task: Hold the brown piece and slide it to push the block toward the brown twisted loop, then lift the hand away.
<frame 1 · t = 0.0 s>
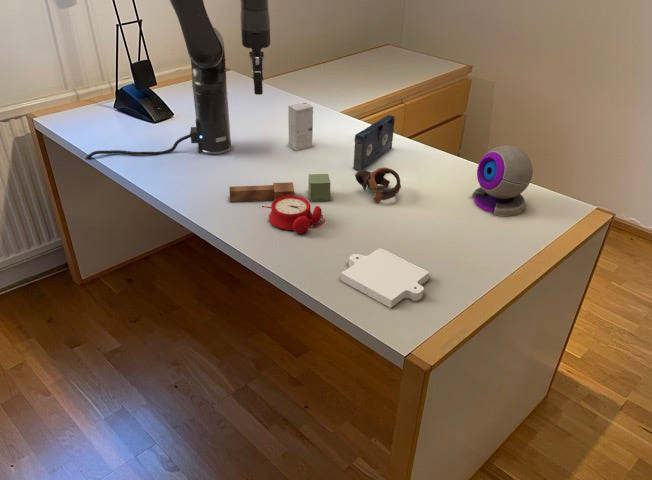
hand: (258, 88, 163), 17 cm above the table, tool pointing down, fingers open, 8 cm apart
vhs cassette tape: (373, 159, 169), on the table
brown piece: (260, 198, 149), on the table
webcam: (497, 203, 150), on the table
cosmetic box: (300, 146, 175), on the table
alarm clock: (296, 222, 140), on the table
mounting plate: (384, 280, 123), on the table
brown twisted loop: (376, 194, 152), on the table
block: (319, 196, 151), on the table
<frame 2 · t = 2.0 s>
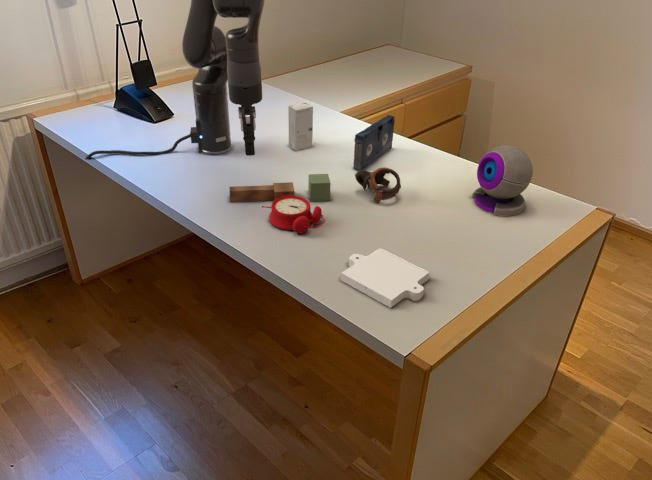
hand: (249, 147, 142), 13 cm above the table, tool pointing down, fingers open, 8 cm apart
nothing on the table moved.
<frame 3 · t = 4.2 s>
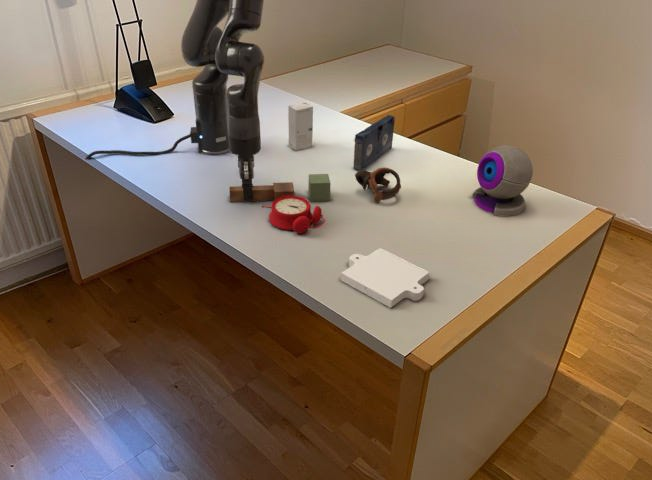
hand: (248, 196, 148), 1 cm above the table, tool pointing down, fingers closed on brown piece, 2 cm apart
brown piece: (260, 198, 149), on the table, touching gripper
everything else where it was.
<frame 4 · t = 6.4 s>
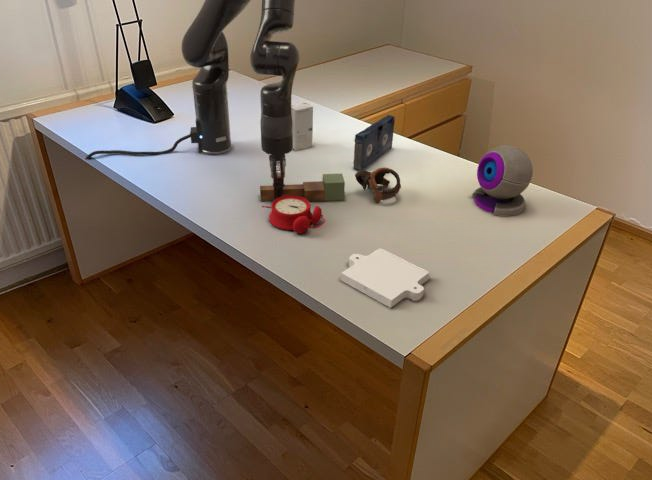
hand: (278, 195, 149), 1 cm above the table, tool pointing down, fingers closed on brown piece, 2 cm apart
brown piece: (290, 197, 150), on the table, touching block, gripper
block: (332, 195, 151), on the table, touching brown piece
everything else where it was.
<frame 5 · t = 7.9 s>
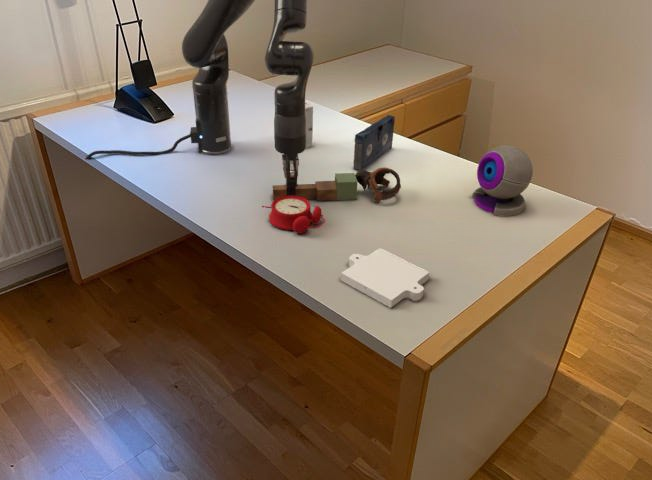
hand: (290, 195, 149), 1 cm above the table, tool pointing down, fingers closed on brown piece, 2 cm apart
brown piece: (302, 196, 150), on the table, touching gripper
block: (345, 195, 151), on the table
everything else where it was.
when the fingers open (1 cm above the table, at t = 8.7 s): brown piece stays where it is, on the table.
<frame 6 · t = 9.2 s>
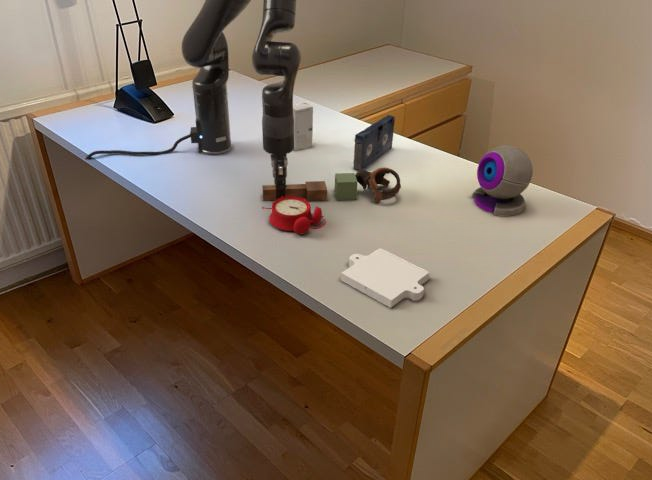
hand: (279, 192, 149), 1 cm above the table, tool pointing down, fingers open, 6 cm apart
brown piece: (292, 197, 150), on the table
everything else where it was.
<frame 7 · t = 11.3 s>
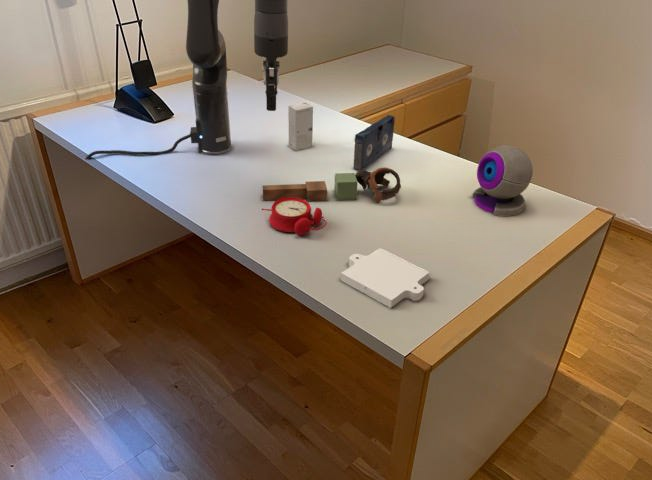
hand: (270, 103, 141), 22 cm above the table, tool pointing down, fingers open, 8 cm apart
nothing on the table moved.
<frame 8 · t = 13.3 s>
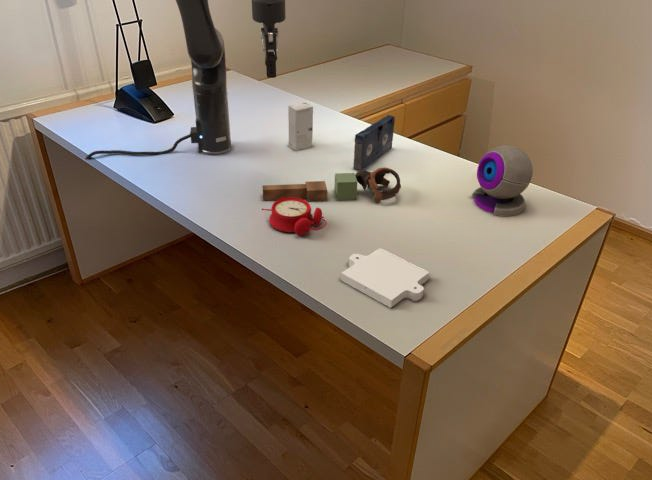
hand: (270, 71, 141), 28 cm above the table, tool pointing down, fingers open, 8 cm apart
nothing on the table moved.
at the end: block 8.2 cm from the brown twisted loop (horizontally); block tilted 0°; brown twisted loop tilted 0° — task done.
